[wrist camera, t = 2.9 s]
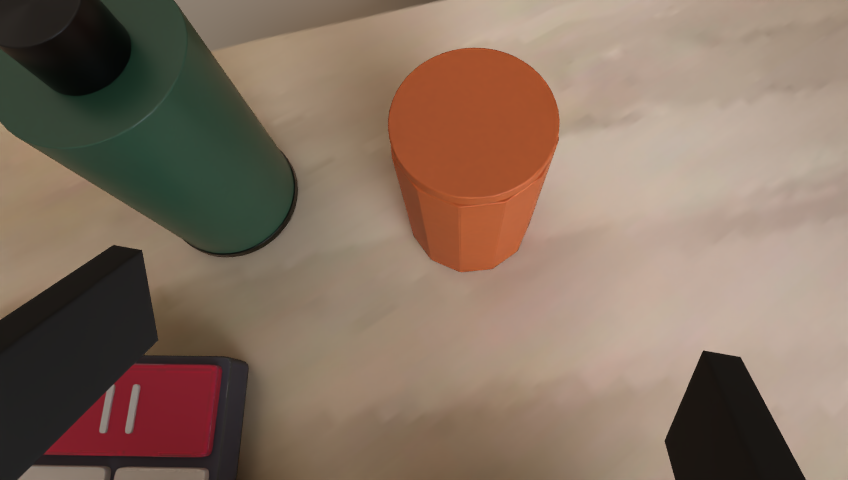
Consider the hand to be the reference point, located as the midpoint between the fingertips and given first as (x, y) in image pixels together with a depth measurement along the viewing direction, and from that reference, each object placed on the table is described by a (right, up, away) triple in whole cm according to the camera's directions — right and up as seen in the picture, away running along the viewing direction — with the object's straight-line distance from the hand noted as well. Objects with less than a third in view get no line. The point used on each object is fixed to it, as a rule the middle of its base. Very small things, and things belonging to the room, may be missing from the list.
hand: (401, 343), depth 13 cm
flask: (-12, +5, +23) cm, 27 cm away
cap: (+4, +4, +22) cm, 23 cm away
